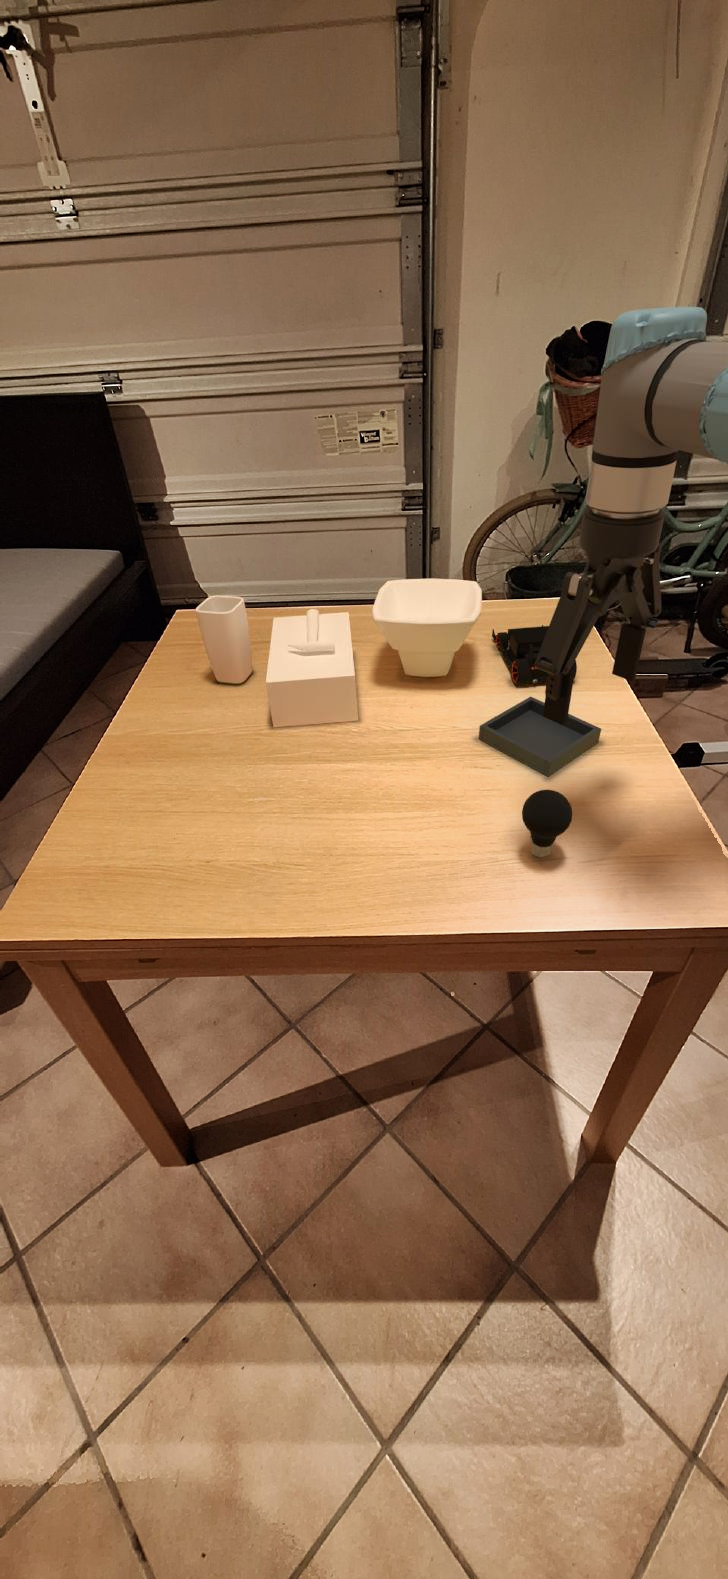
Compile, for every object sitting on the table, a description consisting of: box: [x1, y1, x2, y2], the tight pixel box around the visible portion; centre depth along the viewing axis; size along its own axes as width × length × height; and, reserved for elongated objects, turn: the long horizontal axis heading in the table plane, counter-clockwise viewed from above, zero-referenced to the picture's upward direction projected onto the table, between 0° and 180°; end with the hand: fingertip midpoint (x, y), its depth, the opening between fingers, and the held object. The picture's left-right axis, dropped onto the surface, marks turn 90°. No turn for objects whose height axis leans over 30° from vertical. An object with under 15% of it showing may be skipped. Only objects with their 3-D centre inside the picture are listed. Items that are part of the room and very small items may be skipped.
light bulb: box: [521, 789, 573, 858], centre depth 78 cm, size 6×6×10 cm
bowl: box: [371, 578, 483, 678], centre depth 115 cm, size 19×19×14 cm
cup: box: [195, 595, 253, 685], centre depth 117 cm, size 7×7×15 cm
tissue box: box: [265, 608, 359, 728], centre depth 114 cm, size 14×25×11 cm, turn 3°
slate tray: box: [478, 696, 602, 778], centre depth 99 cm, size 14×13×3 cm
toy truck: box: [491, 624, 578, 686], centre depth 118 cm, size 10×20×7 cm, turn 4°
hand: (590, 697), depth 75 cm, fingers open, 13 cm apart
